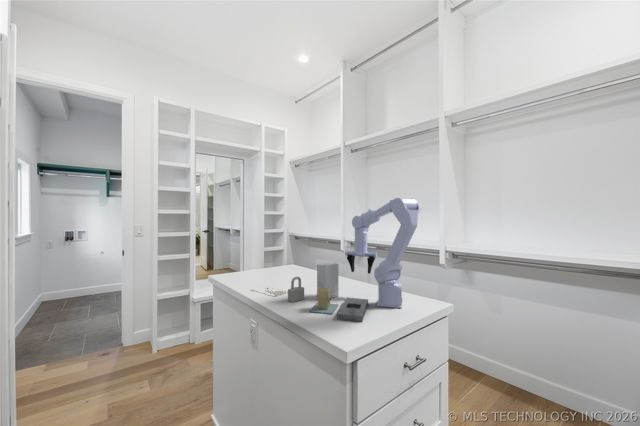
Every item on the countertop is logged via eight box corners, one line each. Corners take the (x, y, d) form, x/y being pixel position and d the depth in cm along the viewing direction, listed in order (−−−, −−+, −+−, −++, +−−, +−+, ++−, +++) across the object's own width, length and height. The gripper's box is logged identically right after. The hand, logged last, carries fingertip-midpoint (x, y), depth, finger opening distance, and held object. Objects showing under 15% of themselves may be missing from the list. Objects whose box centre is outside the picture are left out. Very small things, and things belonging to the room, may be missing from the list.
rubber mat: (338, 305, 115) (338, 304, 115) (332, 314, 104) (332, 313, 104) (317, 303, 117) (317, 302, 117) (308, 312, 107) (308, 311, 107)
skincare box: (330, 293, 132) (330, 261, 132) (339, 296, 127) (339, 263, 127) (316, 297, 126) (316, 263, 127) (325, 300, 122) (325, 265, 122)
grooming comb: (290, 292, 134) (290, 291, 134) (274, 297, 127) (274, 296, 127) (265, 286, 146) (265, 285, 146) (249, 291, 138) (249, 289, 138)
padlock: (299, 297, 126) (299, 274, 126) (305, 299, 124) (305, 276, 124) (286, 300, 121) (286, 277, 121) (293, 302, 118) (293, 278, 118)
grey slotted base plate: (368, 304, 116) (368, 299, 116) (362, 321, 97) (362, 316, 97) (346, 302, 118) (346, 297, 119) (336, 319, 99) (336, 313, 99)
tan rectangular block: (330, 306, 112) (330, 288, 112) (327, 309, 108) (327, 291, 108) (320, 305, 113) (320, 287, 113) (317, 308, 109) (317, 290, 109)
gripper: (342, 242, 129) (342, 272, 128) (374, 243, 122) (374, 275, 122) (348, 241, 135) (348, 269, 135) (378, 242, 129) (378, 272, 129)
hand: (361, 272), depth 129 cm, fingers open, 7 cm apart
